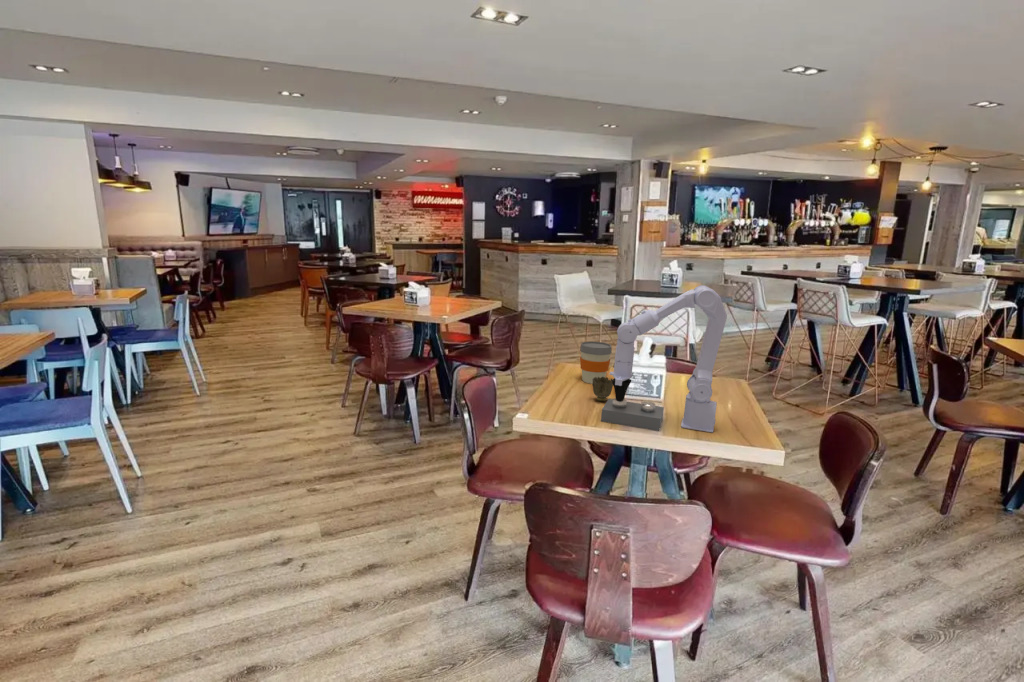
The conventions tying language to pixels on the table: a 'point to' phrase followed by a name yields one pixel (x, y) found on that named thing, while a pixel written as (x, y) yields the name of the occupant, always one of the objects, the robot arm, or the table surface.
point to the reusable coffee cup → (594, 360)
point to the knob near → (648, 406)
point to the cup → (602, 388)
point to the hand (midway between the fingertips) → (619, 401)
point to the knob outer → (619, 403)
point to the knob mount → (632, 415)
